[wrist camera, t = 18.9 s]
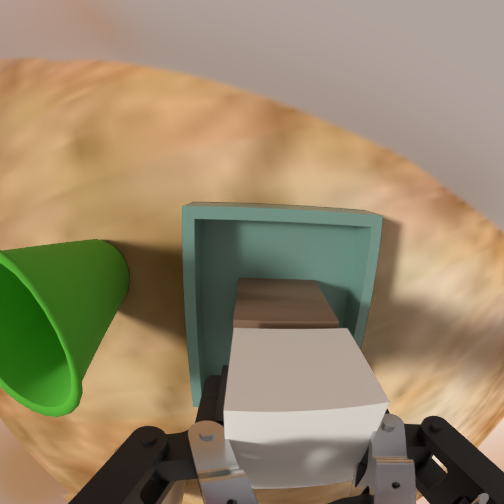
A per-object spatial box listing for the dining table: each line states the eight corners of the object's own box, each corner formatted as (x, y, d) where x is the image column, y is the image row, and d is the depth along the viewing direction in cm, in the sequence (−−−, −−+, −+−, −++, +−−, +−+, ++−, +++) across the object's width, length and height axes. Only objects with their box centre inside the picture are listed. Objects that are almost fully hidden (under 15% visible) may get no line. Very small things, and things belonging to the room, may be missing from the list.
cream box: (329, 407, 13) (350, 481, 8) (233, 409, 13) (227, 487, 8) (347, 328, 12) (389, 401, 7) (233, 327, 12) (223, 410, 7)
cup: (179, 296, 20) (119, 400, 9) (98, 340, 21) (30, 425, 10) (113, 187, 18) (-5, 204, 7) (41, 251, 19) (-55, 297, 8)
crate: (335, 384, 22) (344, 407, 19) (199, 382, 22) (193, 406, 19) (364, 210, 18) (382, 215, 15) (193, 201, 18) (182, 206, 15)
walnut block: (306, 343, 20) (322, 398, 14) (237, 342, 20) (232, 398, 14) (314, 280, 19) (338, 321, 13) (239, 277, 19) (233, 319, 13)
